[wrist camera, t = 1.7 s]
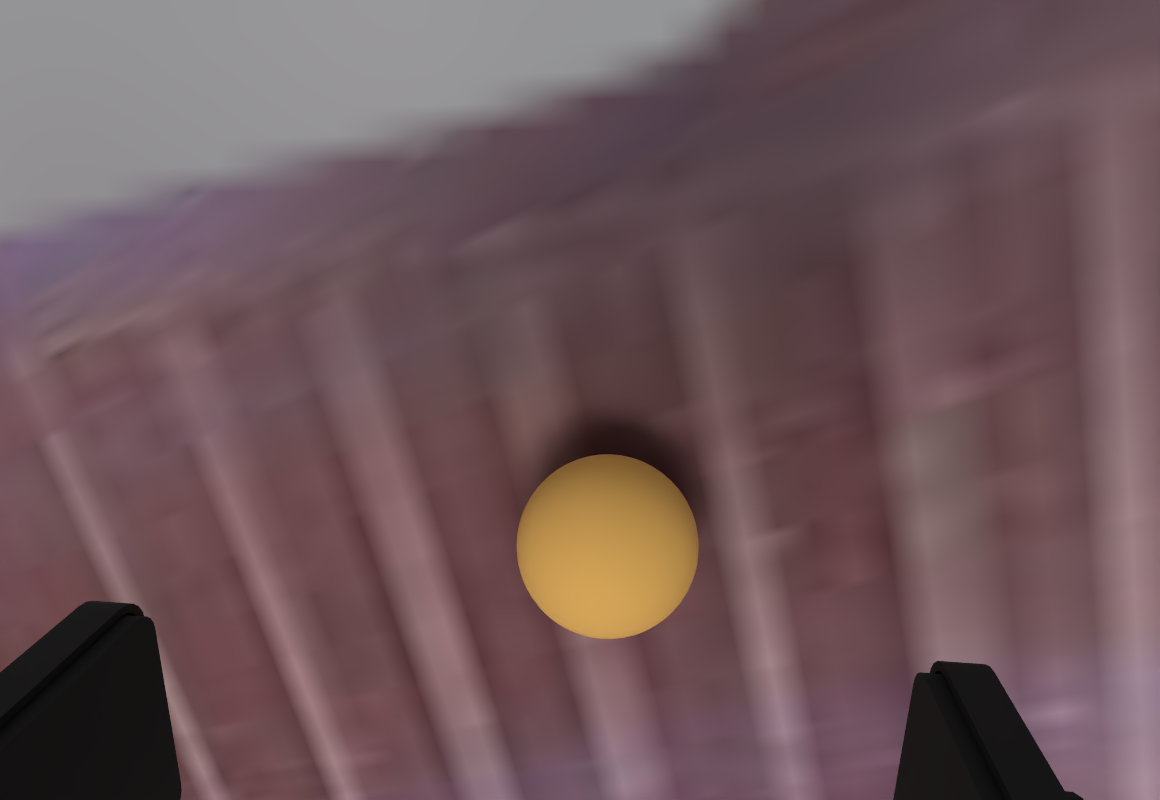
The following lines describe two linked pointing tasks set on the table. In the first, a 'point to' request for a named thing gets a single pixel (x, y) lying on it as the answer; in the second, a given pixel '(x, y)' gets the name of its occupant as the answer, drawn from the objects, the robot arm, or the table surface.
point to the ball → (607, 546)
